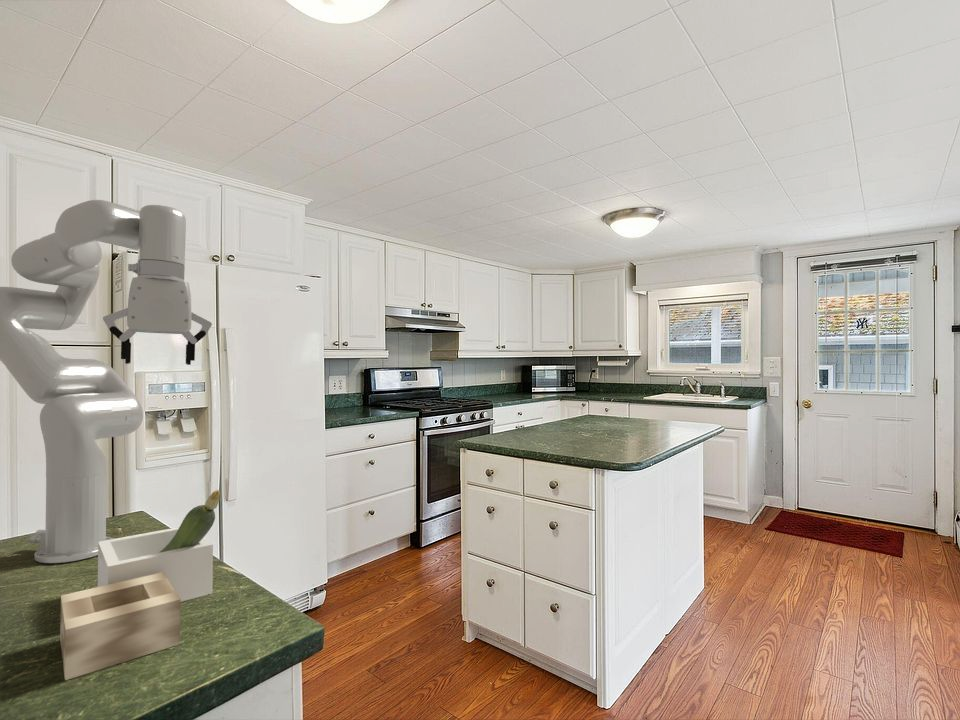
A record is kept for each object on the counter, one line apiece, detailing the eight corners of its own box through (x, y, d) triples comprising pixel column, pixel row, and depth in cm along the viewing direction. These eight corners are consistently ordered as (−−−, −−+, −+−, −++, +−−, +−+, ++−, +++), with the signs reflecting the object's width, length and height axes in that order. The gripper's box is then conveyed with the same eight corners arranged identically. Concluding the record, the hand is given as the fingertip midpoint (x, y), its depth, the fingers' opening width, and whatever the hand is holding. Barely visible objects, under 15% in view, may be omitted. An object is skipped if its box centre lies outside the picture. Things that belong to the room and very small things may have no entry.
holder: (65, 680, 60) (65, 629, 60) (60, 639, 69) (60, 595, 69) (180, 644, 68) (180, 599, 68) (162, 611, 77) (163, 572, 77)
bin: (107, 621, 74) (107, 566, 74) (97, 589, 85) (98, 541, 85) (212, 593, 84) (212, 544, 84) (192, 568, 94) (192, 524, 94)
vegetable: (156, 575, 87) (229, 482, 87) (165, 594, 85) (240, 500, 85) (130, 576, 83) (206, 480, 83) (139, 596, 81) (217, 498, 81)
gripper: (102, 264, 88) (100, 363, 88) (214, 276, 98) (212, 365, 98) (106, 270, 95) (103, 362, 95) (211, 280, 104) (208, 364, 104)
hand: (158, 364), depth 96 cm, fingers open, 9 cm apart
